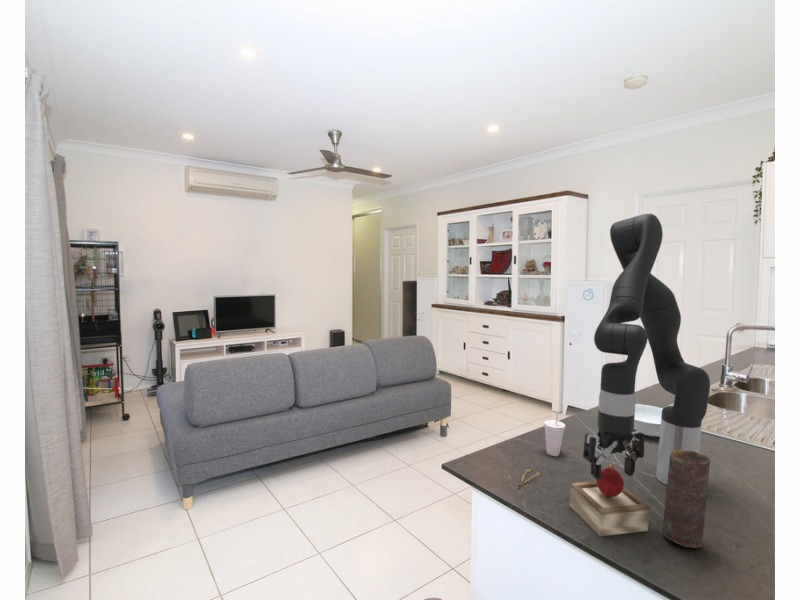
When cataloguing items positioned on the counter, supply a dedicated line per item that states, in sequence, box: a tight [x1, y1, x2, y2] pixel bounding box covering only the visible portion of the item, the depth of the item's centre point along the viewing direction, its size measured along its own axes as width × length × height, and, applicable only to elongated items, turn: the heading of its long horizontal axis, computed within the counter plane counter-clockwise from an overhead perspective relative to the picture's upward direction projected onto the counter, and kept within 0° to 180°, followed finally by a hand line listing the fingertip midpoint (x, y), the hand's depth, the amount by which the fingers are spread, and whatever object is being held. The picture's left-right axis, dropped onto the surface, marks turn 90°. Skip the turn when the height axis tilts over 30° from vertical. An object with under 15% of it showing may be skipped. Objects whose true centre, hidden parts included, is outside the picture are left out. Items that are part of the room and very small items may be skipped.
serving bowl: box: [634, 403, 664, 438], centre depth 154 cm, size 21×21×7 cm
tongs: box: [515, 468, 542, 491], centre depth 119 cm, size 4×13×2 cm, turn 147°
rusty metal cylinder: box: [662, 449, 711, 549], centre depth 93 cm, size 8×7×20 cm
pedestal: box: [569, 480, 651, 537], centre depth 102 cm, size 12×12×6 cm
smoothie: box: [543, 410, 566, 457], centre depth 135 cm, size 6×6×14 cm
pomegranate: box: [595, 463, 625, 498], centre depth 102 cm, size 6×6×8 cm
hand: (612, 476), depth 101 cm, fingers open, 8 cm apart
